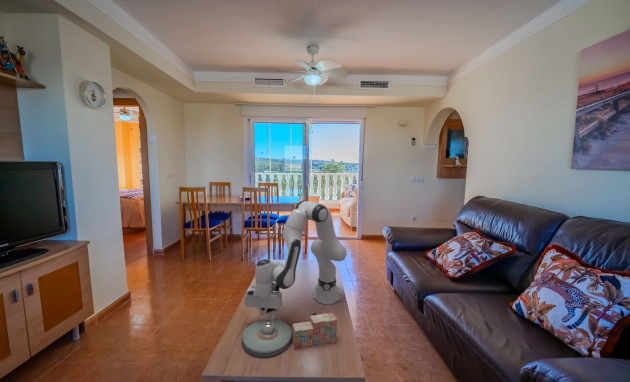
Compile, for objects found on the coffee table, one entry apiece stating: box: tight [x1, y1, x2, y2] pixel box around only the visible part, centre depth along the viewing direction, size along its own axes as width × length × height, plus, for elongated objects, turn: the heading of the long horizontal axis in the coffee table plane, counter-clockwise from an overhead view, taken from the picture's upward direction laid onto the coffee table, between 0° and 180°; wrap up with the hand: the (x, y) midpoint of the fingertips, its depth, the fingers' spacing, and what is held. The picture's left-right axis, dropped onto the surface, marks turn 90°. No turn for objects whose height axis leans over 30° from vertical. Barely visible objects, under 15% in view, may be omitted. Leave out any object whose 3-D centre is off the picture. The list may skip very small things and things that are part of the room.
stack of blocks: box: [291, 312, 338, 349], centre depth 128 cm, size 21×6×12 cm, turn 106°
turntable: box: [242, 310, 292, 353], centre depth 128 cm, size 24×24×6 cm
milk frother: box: [261, 282, 280, 313], centre depth 159 cm, size 14×16×15 cm
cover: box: [259, 320, 277, 339], centre depth 128 cm, size 9×9×6 cm
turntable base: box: [241, 331, 293, 359], centre depth 129 cm, size 25×25×2 cm
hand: (263, 314), depth 139 cm, fingers closed
